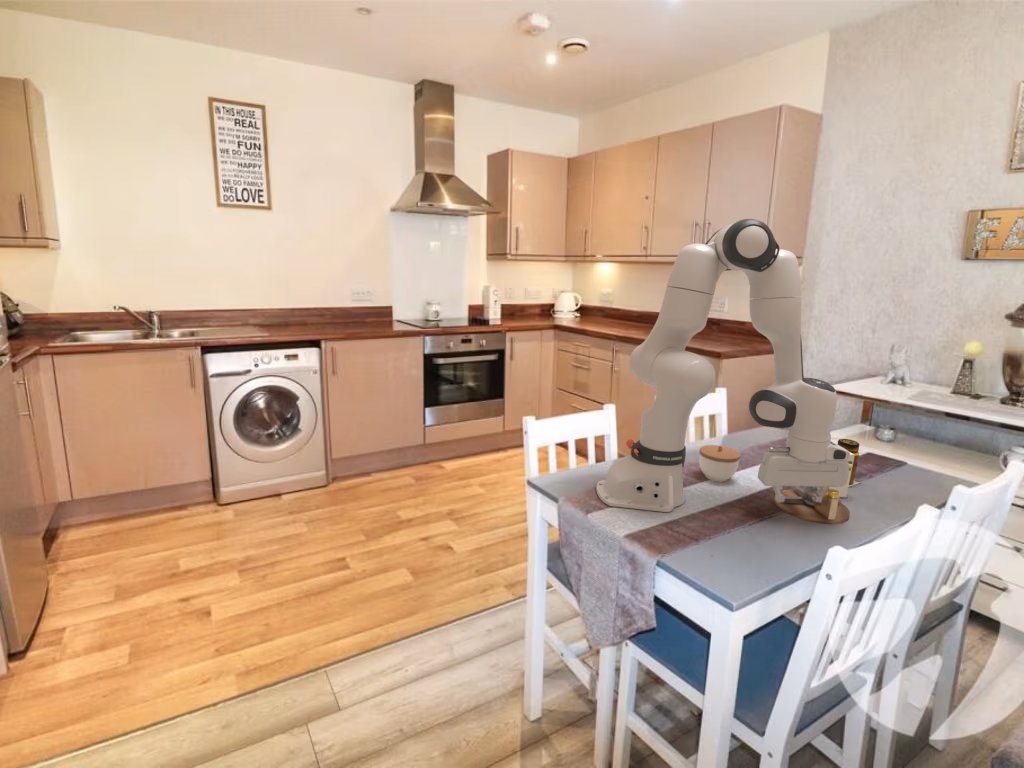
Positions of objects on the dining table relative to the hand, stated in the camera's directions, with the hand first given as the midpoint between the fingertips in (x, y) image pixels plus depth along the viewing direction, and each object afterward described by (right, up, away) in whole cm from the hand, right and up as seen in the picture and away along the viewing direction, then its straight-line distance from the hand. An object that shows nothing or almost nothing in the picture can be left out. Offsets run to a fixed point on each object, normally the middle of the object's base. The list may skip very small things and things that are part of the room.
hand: (797, 501), depth 132 cm
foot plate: (+7, -3, +7) cm, 10 cm away
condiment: (+24, 0, +24) cm, 34 cm away
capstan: (+7, -2, +6) cm, 9 cm away
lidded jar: (-11, +2, +24) cm, 26 cm away
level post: (+18, -1, +15) cm, 24 cm away
